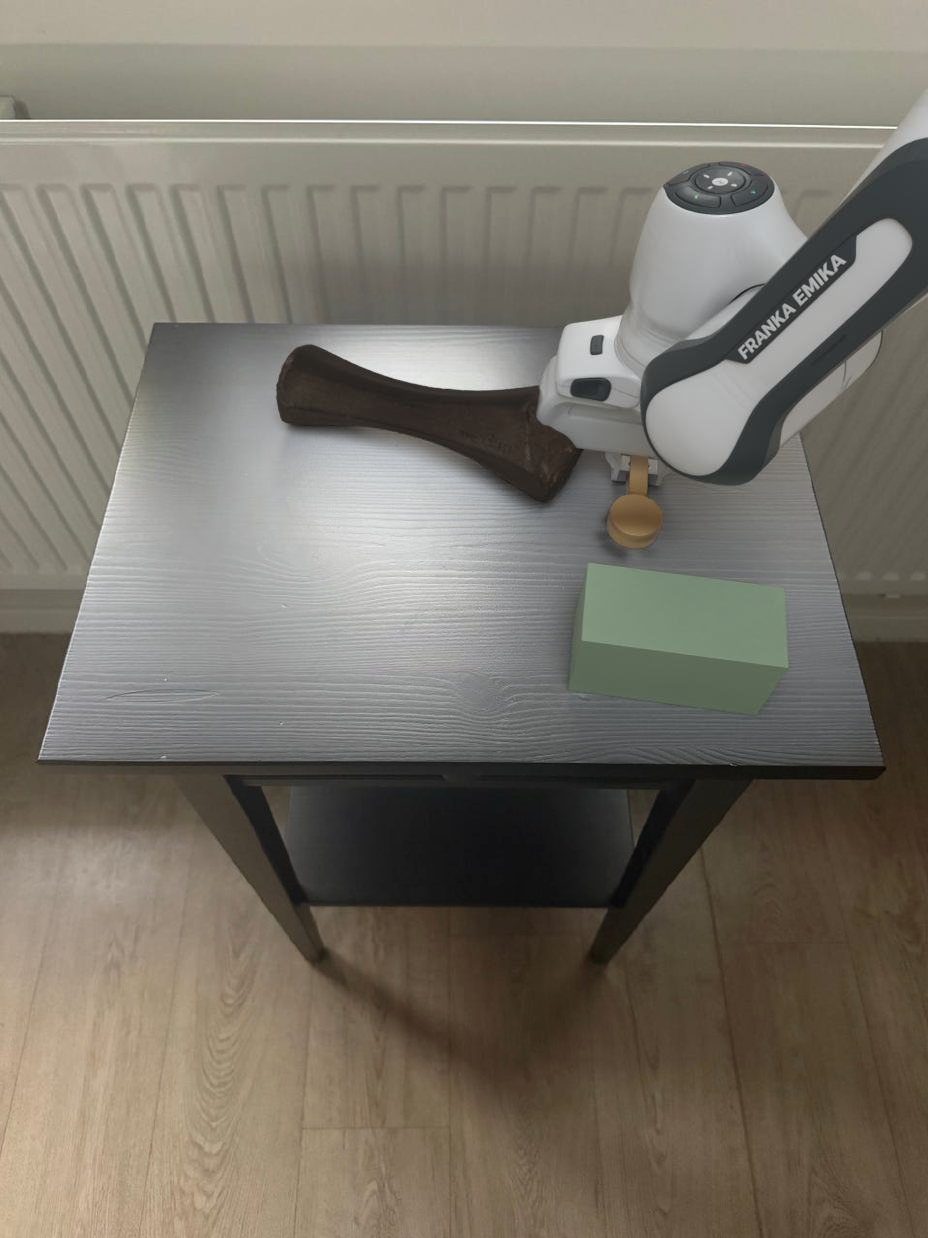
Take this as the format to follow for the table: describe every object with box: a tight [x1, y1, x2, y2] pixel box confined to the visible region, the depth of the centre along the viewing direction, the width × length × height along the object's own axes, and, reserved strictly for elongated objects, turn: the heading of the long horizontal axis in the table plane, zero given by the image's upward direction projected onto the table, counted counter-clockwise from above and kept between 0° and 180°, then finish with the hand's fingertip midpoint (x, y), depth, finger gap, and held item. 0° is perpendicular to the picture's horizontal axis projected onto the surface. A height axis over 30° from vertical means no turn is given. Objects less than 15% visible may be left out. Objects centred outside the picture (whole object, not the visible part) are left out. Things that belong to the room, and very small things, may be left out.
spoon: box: [606, 454, 663, 550], centre depth 85 cm, size 14×5×2 cm, turn 172°
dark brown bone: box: [275, 343, 585, 503], centre depth 85 cm, size 11×10×28 cm
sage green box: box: [567, 562, 790, 716], centre depth 73 cm, size 15×7×8 cm, turn 82°
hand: (635, 477), depth 86 cm, fingers closed on spoon, 2 cm apart
